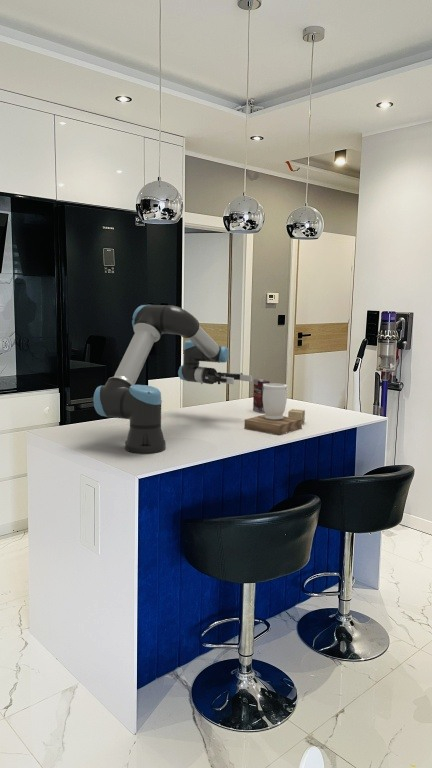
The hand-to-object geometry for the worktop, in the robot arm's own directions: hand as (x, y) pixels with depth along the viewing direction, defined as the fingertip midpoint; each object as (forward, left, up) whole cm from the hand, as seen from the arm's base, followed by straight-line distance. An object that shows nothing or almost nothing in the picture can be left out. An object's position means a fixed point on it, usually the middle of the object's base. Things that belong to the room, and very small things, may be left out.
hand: (242, 379), depth 267 cm
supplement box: (+31, +11, -21) cm, 39 cm away
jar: (+6, -13, -16) cm, 22 cm away
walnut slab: (+3, -15, -20) cm, 25 cm away
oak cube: (+19, -17, -20) cm, 33 cm away
